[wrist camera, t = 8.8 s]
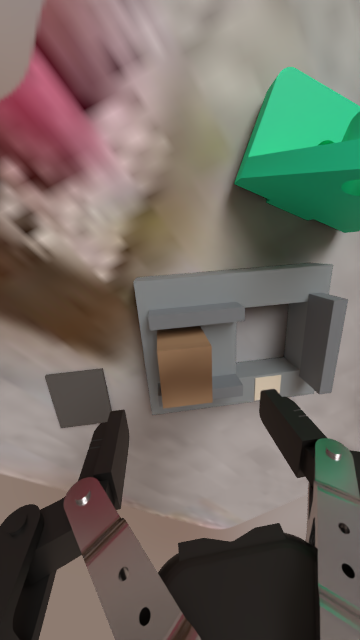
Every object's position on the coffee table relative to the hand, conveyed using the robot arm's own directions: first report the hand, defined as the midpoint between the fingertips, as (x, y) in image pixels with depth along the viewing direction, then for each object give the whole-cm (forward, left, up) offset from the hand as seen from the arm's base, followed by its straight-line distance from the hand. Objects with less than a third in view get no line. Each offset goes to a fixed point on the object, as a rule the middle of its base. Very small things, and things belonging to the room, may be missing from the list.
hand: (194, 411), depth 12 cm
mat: (+6, -11, -12) cm, 17 cm away
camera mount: (-15, +13, -12) cm, 23 cm away
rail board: (0, +6, -12) cm, 13 cm away
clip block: (0, 0, -6) cm, 6 cm away
